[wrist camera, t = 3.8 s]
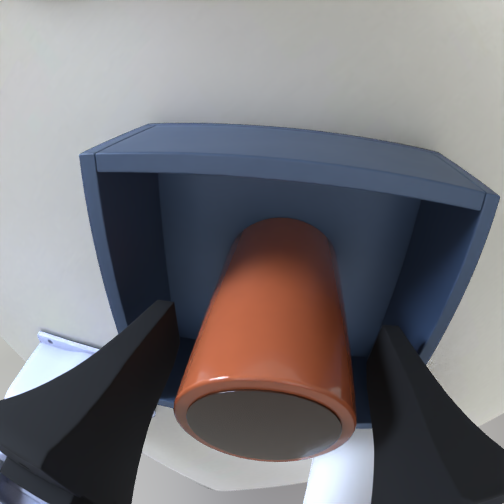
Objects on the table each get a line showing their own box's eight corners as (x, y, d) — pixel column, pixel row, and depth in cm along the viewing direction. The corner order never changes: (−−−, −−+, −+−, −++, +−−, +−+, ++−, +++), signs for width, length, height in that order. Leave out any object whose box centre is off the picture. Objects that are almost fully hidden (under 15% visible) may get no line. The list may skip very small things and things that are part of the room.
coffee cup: (227, 303, 16) (184, 450, 9) (227, 211, 13) (156, 363, 6) (327, 314, 15) (331, 467, 9) (347, 223, 13) (384, 388, 6)
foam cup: (417, 364, 17) (448, 559, 6) (422, 423, 21) (437, 559, 10) (281, 398, 21) (258, 577, 10) (318, 447, 24) (310, 577, 13)
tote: (171, 335, 19) (142, 401, 14) (147, 123, 12) (78, 154, 8) (372, 357, 17) (383, 428, 13) (438, 151, 11) (501, 196, 7)
